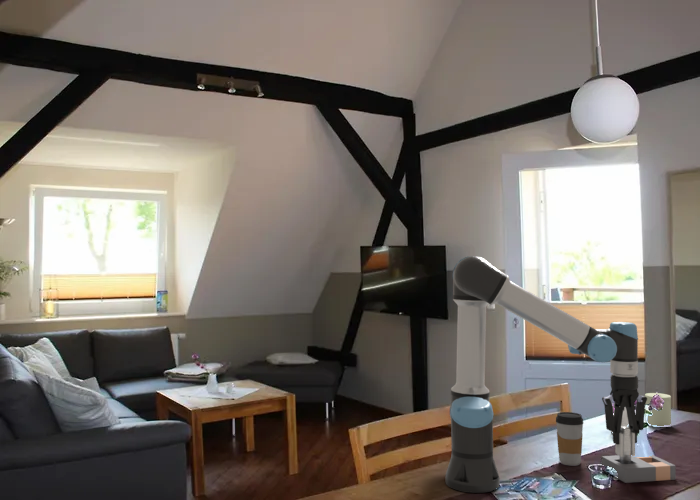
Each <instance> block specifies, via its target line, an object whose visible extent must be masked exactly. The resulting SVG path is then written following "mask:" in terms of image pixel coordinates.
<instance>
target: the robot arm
mask: <svg viewBox="0 0 700 500" xmlns="http://www.w3.org/2000/svg"><path fill="white" fill-rule="evenodd" d="M452 280H453V284H452V290H453V291H452V301H454V303H455V304H456V305H457V326H456V331H457V332H456V373H455V379H456V380H455V384H454V385H453V386H452V387H450V406H449V417H450V426H451V428H450V429H451V433H450V436H451V437H450V438H451V457H450V459H449V463H448V465H447V469H446V472H445V485H446V486H447V487H449V488H451V489H453V490H456V491H459V492H464V493H471V494H472V493H473V494H475V493H476V494H478V493H479V494H480V493H489V492H493V491H492V490H494V489H496V488H498V487H499V488H500V486H501V485H500V482H501V480H500V479H501V478H500V474H499V472H498V468H497V465H496V462H495V459H494V434H493V433H494V427H493V426H494V410H493V405H492V402H490V394H491V393H490V389H489V388H488V387H487V386H486V385H485V381H486V379H485V378H486V376H485V375H486V337H487V336H486V335H487V334H486V333H487V331H486V329H487V306H488V305H489V304H490V305H492V306H493V305H498V306H499V307H501V308H503V309H505V310H507V311H509V312H510V313H512V314H513V315H516V317H518V318H521V319H523V320H525V321H526V322H528V323H529V324H531V325H532V326H535V327H536V328H538V329H540V330H542V331H544V332H546V333H547V334H549V335H551V336H552V337H554V338H556V339H558V340H559V341H560V342H563V343H565V344H566V345H567V347H568V351H569V353H570V354H573V355H579V356H580V355H585V356H587V357H588V358H590V359H592V360H593V361H595V362H597V363H608V362H610V363H609V364H610V367H609V369H610V373H611V375H610V388H611V389H610V390H611V391H610V392H609V395H608V396H603V397H602V398H601V400H602V402H603V406H604V416H605V427H606V430H608V431H610V432H611V431H612V432H613V434H612V442H613V444H614V445H615V448H614V449H615V451H614V452H615V455H619V456H623V434H622V433H620V431H621V423H622V415H623V411H624V408H626V411H627V417H628V423H629V427H630V428H631V455H632V456H635V454H636V444H638V443H637V442H638V434H640V432H641V431H644V427H645V426H644V425H645V412H646V408H645V403H646V401H647V397H645V395H641V394H640V393H639V391H638V389H639V377H638V374H639V369H638V368H639V359H638V358H639V357H638V352H639V351H638V350H639V348H638V347H639V346H638V343H639V341H638V340H639V338H638V326H637V325H636V324H635V323H633V322H628V321H626V322H625V321H617V322H616V321H613V322H610V324H609V328H605V329H604V328H603V329H601V328H596V329H595V328H594V327H592V326H590V325H588V324H587V323H585V322H584V321H581V320H580V319H578V318H577V317H575V316H573V315H571V314H568V312H566V311H564V310H562V309H560V308H559V307H558V306H555V305H554V304H552V303H550V302H548V301H546V300H544V299H543V298H541V297H539V296H538V295H535V294H534V293H532V292H530V291H529V290H527V289H525V288H524V287H522V286H520V285H518V284H516V283H514V282H513V281H511V280H510V278H509V275H508V274H507V273H504V272H503V271H502V270H499V269H498V268H496V266H494V265H492V263H490V262H489V261H488V260H486V259H485V258H483V257H482V256H476V255H470V256H465V257H463V258H461V259H460V260H458V262H457V263H456V264H455V265H454V268H453V270H452ZM612 404H614V408H615V410H614V415H613V406H612ZM619 406H620V407H619ZM499 485H500V486H499ZM499 488H498V489H499ZM496 490H497V489H496ZM494 491H495V490H494Z"/></svg>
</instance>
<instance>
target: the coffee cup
mask: <svg viewBox="0 0 700 500" xmlns="http://www.w3.org/2000/svg"><path fill="white" fill-rule="evenodd" d="M555 422H556V437H557V452H558V460H559V462H560V463H561V464H562V465H564V466H579V465H580V464H581V461H582V452H583V451H582V450H583V449H582V447H583V431H584V430H583V429H584V428H583V426H584V418H583V416H582V415H581V413H577V412H571V411H562V412H558V413H557V414H556V417H555Z"/></svg>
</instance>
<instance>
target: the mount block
mask: <svg viewBox="0 0 700 500" xmlns="http://www.w3.org/2000/svg"><path fill="white" fill-rule="evenodd" d="M602 465H604V466H609V467H612V468H614V469H615V470H616V471H617V473H618V480H619V481H621V482H623V483H626V484H630V483H640V482H656V481H658V482H659V481H671V480H673V481H674V480H677V477H676V476H677V475H676V474H677V473H676V471H677V470H676V468H677V467H676V464H674V463H671V462H668V461H667V460H665V459H663V458H660V457H658V456H656V455H653V454H652V456H649V457H633V456H631V464H621V463H619V455H617V454H615V455H604V456H603V455H602V456H601V466H602Z"/></svg>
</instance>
